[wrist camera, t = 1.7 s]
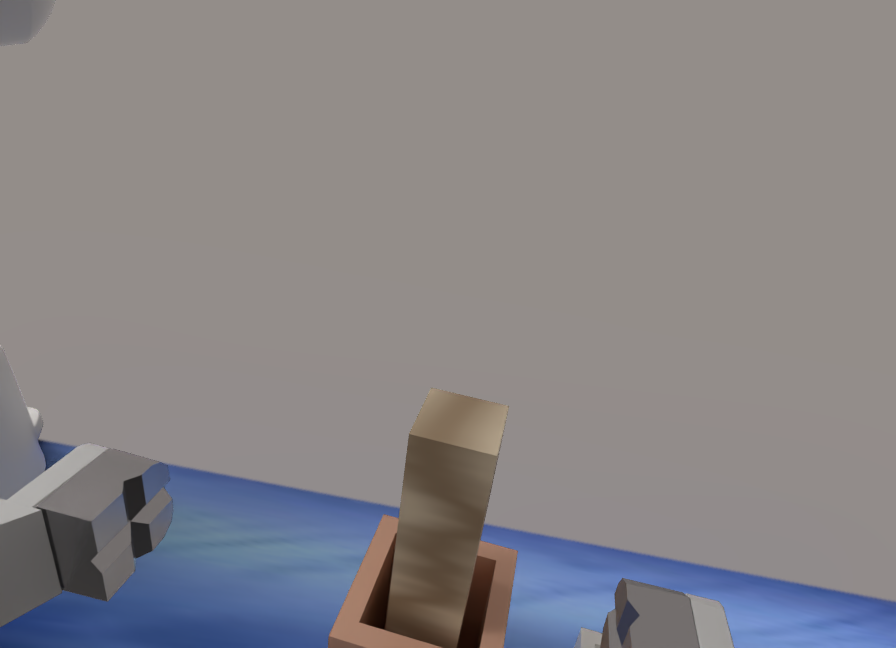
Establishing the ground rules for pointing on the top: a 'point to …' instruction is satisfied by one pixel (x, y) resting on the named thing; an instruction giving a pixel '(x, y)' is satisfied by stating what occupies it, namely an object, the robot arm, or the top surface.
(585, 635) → the grey tray
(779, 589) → the top surface
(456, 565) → the birch stick
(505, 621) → the terracotta cup
